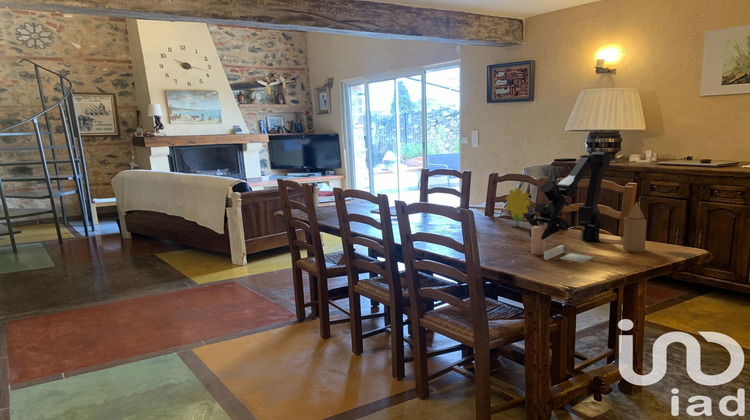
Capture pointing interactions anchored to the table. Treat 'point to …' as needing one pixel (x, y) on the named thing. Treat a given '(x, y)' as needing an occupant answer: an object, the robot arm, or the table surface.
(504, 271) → the table surface
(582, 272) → the table surface
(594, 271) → the table surface
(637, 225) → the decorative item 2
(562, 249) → the low wall
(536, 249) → the tan round cylinder
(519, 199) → the decorative item
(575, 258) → the tile
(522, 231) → the table surface
